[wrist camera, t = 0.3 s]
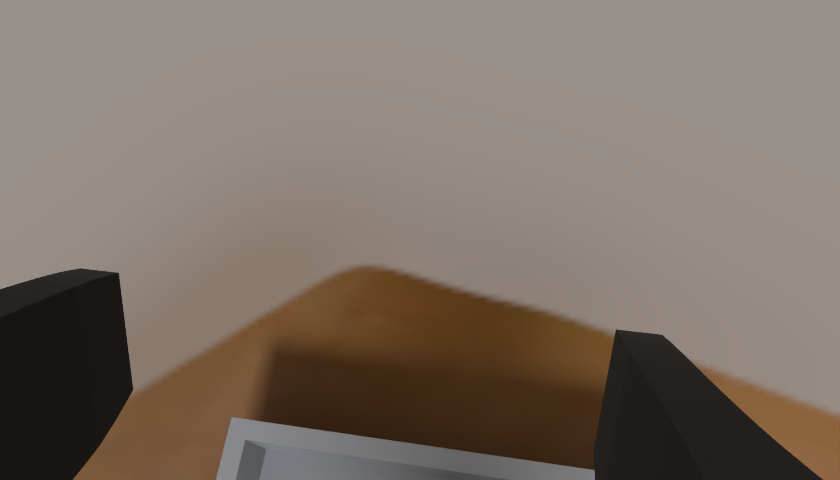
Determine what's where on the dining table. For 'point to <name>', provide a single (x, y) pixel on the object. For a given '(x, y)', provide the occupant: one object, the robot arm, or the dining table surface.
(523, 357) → the dining table surface
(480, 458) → the box
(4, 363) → the robot arm
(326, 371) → the dining table surface
